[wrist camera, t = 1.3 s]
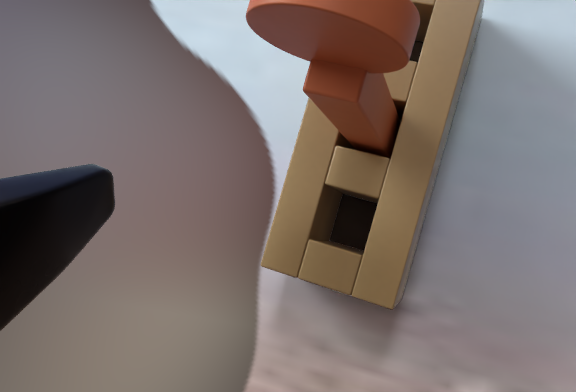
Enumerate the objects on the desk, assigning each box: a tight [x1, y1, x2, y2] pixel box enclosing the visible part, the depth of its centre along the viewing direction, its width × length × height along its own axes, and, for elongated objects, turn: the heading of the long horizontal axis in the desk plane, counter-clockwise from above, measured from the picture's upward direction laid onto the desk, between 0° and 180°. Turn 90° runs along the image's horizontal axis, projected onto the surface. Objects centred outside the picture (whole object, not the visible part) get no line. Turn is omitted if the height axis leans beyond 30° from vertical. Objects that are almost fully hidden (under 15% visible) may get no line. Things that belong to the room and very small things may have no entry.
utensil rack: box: [261, 0, 484, 310], centre depth 22 cm, size 5×13×4 cm, turn 162°
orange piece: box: [246, 0, 420, 159], centre depth 17 cm, size 2×4×14 cm, turn 73°
